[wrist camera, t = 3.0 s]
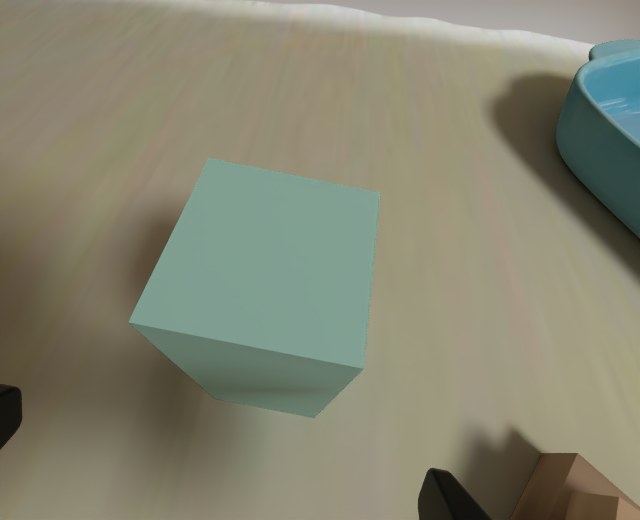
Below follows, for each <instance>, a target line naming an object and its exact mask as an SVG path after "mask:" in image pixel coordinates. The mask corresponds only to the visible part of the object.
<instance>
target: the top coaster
mask: <svg viewBox="0 0 640 520" xmlns="http://www.w3.org/2000/svg"><path fill="white" fill-rule="evenodd" d="M565 520H640V511H639V510H638V509H636V508H635V507H633V506H632V505H630V504H629V503H627V502H626V501H624V500H623V499H621V498H620V497H615V496H607V495H599V494H591V493H583V492H575V491H571V494H570V499H569V504H568V509H567V514H566V519H565Z"/></svg>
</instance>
